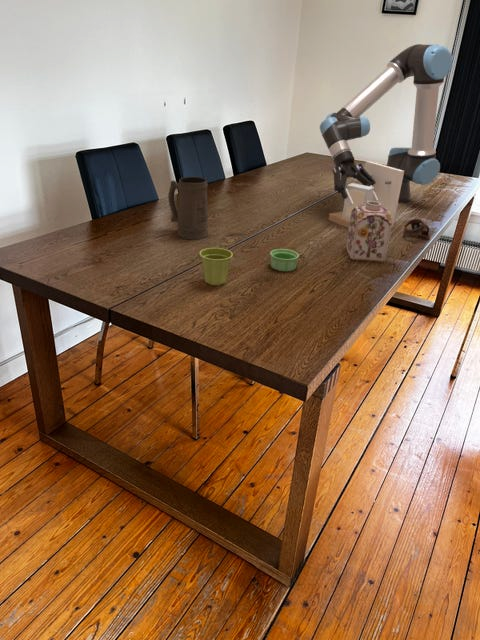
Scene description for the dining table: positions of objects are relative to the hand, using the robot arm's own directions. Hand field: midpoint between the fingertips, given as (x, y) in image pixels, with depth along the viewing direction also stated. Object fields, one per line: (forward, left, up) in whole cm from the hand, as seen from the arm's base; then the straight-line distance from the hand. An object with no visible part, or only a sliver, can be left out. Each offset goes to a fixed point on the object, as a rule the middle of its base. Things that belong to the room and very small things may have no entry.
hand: (363, 203), depth 198 cm
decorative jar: (+20, +23, -10) cm, 32 cm away
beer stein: (+65, -21, -10) cm, 69 cm away
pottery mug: (-12, +18, -10) cm, 23 cm away
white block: (0, -3, -7) cm, 7 cm away
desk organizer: (-4, -3, -9) cm, 11 cm away
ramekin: (+52, +19, -10) cm, 56 cm away
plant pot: (+77, +19, -10) cm, 80 cm away
